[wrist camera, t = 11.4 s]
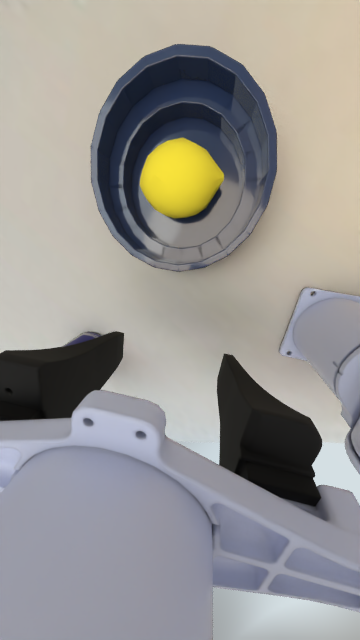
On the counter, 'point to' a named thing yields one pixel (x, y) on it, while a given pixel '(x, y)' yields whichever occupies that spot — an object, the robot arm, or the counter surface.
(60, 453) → the robot arm
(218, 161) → the stepped navy bowl
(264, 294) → the counter surface
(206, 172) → the lemon
